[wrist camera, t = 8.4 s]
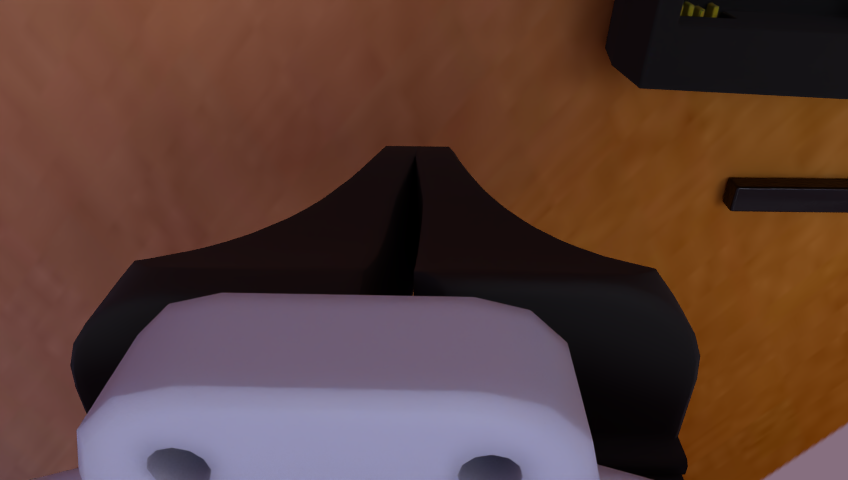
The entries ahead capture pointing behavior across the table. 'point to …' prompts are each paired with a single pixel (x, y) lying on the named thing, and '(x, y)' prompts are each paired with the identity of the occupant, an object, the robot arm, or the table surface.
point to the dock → (787, 195)
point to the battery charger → (733, 46)
